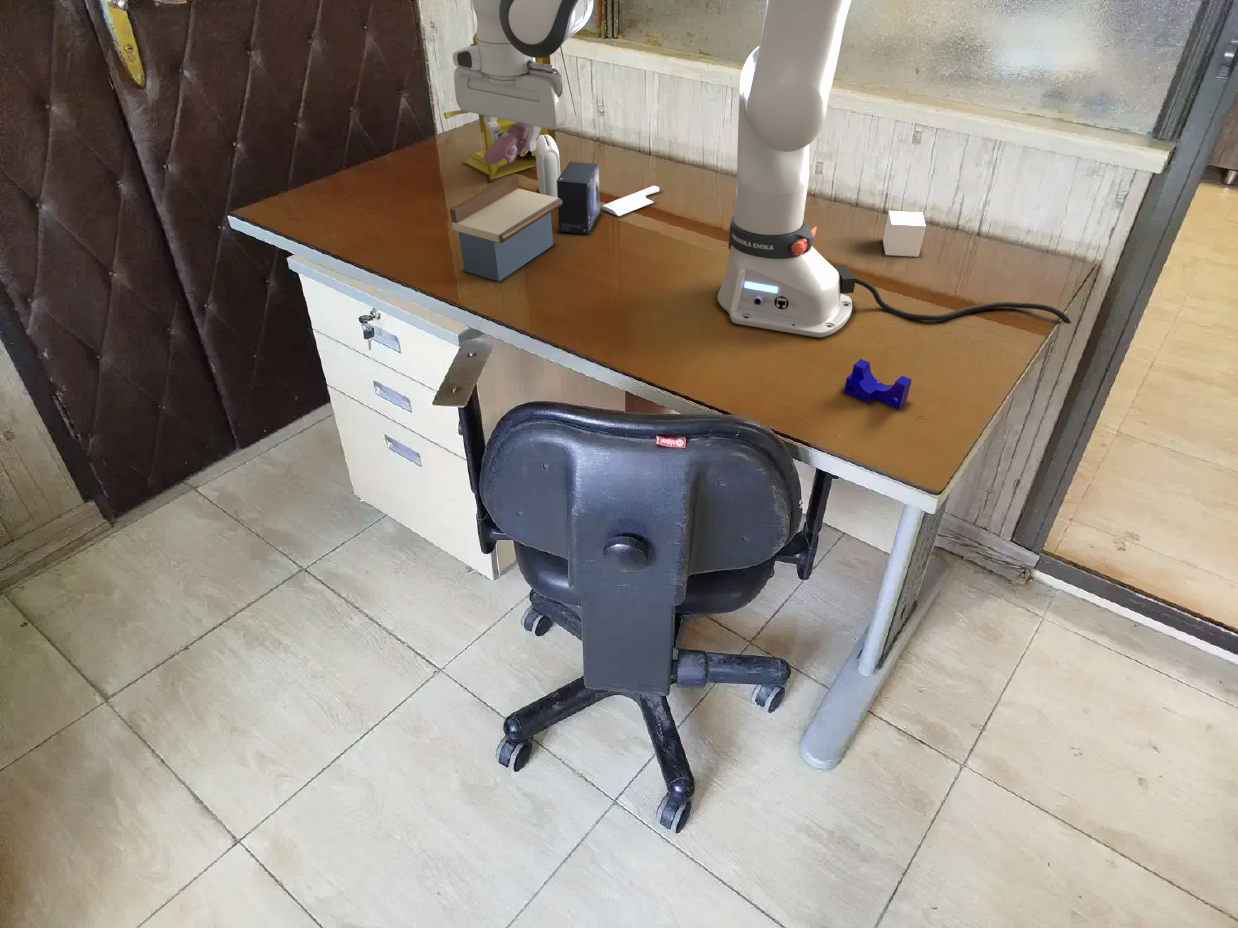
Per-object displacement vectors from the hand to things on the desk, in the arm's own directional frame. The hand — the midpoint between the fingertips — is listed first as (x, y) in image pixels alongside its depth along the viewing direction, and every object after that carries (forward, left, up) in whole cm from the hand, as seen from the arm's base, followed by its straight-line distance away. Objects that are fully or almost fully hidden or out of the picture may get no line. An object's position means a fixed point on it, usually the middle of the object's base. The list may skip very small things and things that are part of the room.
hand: (513, 146), depth 138 cm
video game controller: (0, 0, -2) cm, 2 cm away
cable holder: (-69, +8, -22) cm, 73 cm away
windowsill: (+4, -1, -22) cm, 22 cm away
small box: (+1, -21, -22) cm, 30 cm away
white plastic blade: (-4, -35, -22) cm, 41 cm away
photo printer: (+14, -29, -22) cm, 39 cm away
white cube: (-58, -41, -22) cm, 74 cm away
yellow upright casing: (+33, -41, -22) cm, 57 cm away
